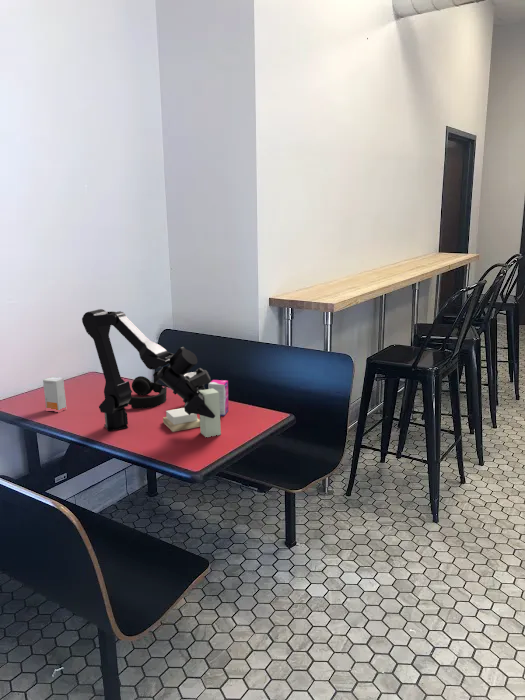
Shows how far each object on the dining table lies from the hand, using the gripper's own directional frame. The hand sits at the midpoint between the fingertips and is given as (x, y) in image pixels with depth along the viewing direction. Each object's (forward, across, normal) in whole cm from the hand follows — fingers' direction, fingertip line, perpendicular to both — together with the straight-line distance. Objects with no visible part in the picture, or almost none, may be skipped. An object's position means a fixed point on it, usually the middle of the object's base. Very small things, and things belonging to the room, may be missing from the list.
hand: (214, 413), depth 185 cm
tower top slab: (-4, +10, +11) cm, 16 cm away
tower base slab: (-2, +10, +13) cm, 17 cm away
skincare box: (-36, +32, +46) cm, 66 cm away
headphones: (-14, +39, +24) cm, 48 cm away
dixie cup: (0, +32, +10) cm, 34 cm away
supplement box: (+6, +19, +4) cm, 21 cm away
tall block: (+4, 0, +6) cm, 7 cm away
